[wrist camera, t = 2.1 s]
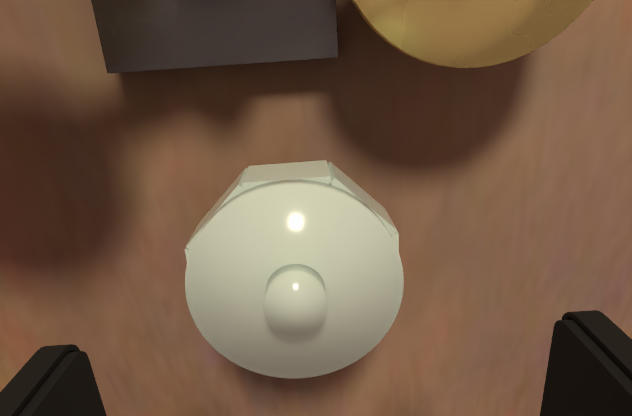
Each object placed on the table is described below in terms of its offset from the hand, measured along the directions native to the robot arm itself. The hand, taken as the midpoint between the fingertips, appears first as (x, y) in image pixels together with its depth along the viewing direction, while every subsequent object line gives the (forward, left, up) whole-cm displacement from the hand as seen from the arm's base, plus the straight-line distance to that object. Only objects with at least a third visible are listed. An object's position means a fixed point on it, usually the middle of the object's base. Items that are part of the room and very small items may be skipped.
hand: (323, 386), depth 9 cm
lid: (0, +1, -7) cm, 7 cm away
